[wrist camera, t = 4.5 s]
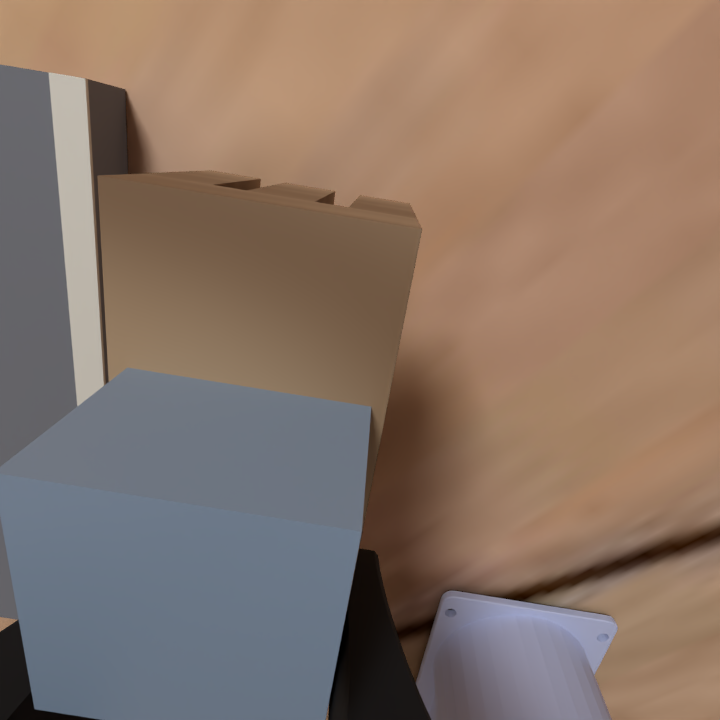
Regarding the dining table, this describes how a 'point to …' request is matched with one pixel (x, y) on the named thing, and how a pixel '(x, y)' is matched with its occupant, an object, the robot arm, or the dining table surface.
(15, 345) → the dock
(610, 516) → the dining table surface
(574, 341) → the dining table surface
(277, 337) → the brown notched bar
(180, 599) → the blue-grey square block
